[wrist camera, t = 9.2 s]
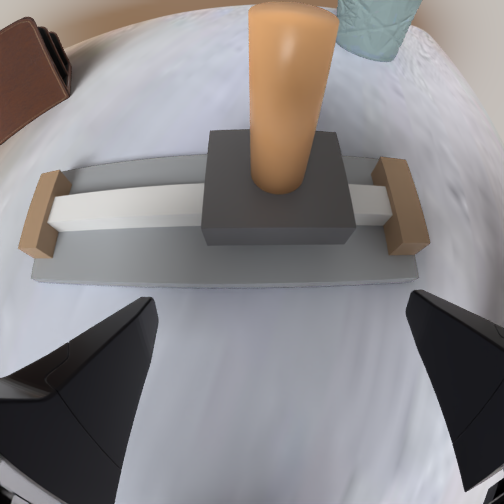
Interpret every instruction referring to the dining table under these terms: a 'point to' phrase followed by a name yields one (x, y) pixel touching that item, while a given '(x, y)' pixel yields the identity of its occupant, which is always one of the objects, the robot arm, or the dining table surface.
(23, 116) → the letter holder
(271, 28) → the carriage
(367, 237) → the rail
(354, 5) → the green planter pot
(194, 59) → the dining table surface
